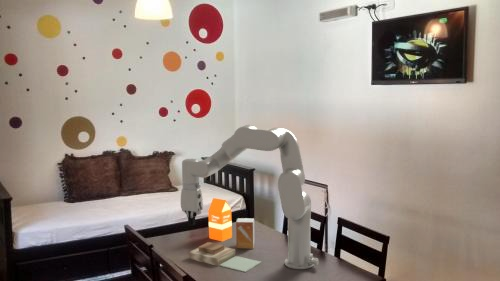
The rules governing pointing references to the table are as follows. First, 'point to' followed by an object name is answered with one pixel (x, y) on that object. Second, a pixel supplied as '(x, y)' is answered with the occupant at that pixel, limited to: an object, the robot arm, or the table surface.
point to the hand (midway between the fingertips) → (191, 225)
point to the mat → (240, 263)
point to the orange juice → (220, 220)
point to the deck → (212, 256)
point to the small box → (245, 233)
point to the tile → (211, 248)
